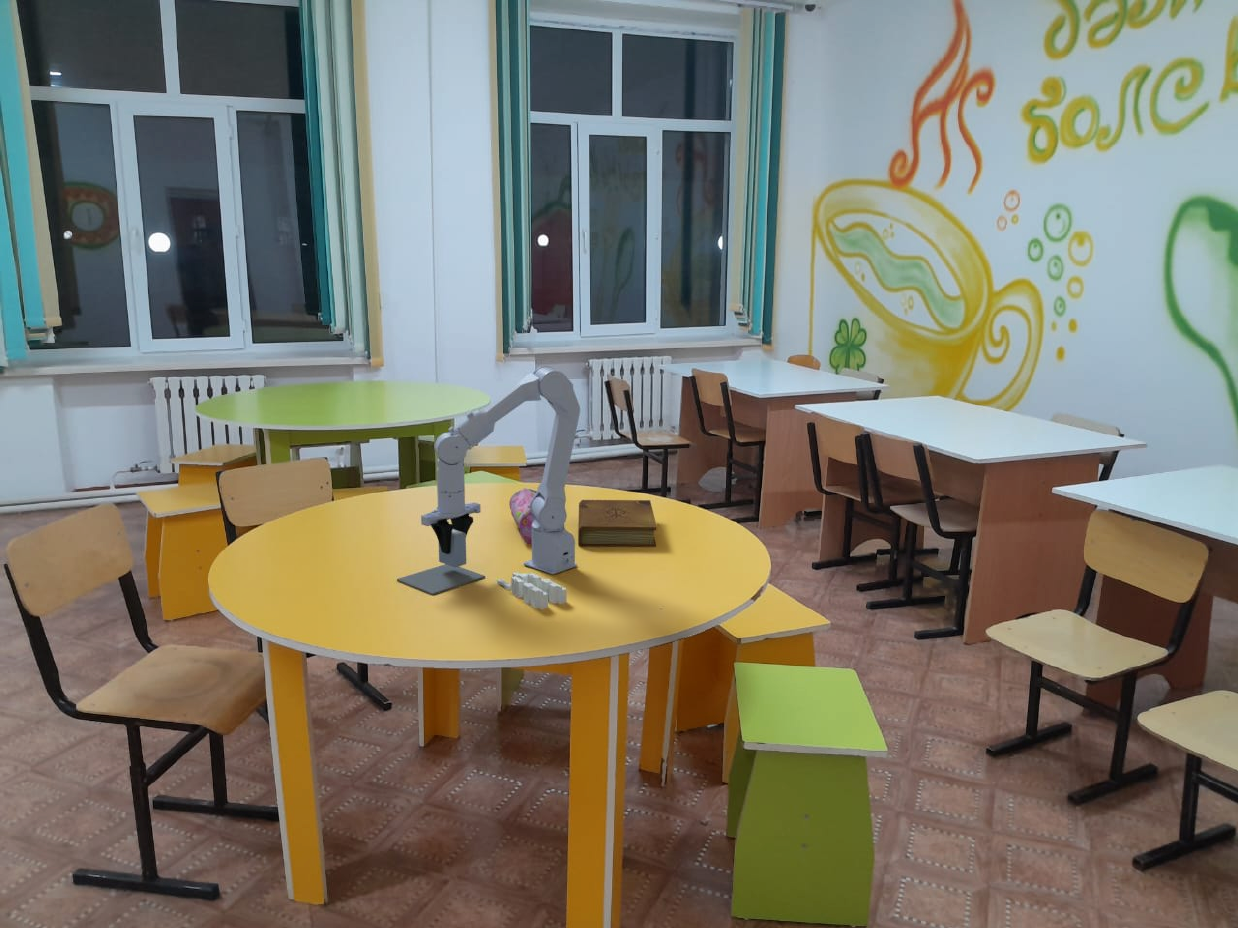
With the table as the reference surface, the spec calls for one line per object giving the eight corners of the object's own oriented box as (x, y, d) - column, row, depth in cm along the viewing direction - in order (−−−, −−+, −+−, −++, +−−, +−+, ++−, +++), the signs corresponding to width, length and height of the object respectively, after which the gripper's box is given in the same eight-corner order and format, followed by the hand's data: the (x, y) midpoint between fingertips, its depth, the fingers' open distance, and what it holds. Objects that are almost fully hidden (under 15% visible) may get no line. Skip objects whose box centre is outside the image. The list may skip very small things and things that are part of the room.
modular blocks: (566, 603, 181) (566, 585, 180) (538, 611, 177) (538, 592, 176) (513, 576, 196) (513, 559, 195) (485, 582, 191) (485, 565, 191)
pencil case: (556, 544, 217) (556, 508, 215) (518, 546, 215) (517, 509, 213) (543, 518, 238) (543, 485, 235) (509, 520, 236) (508, 487, 234)
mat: (485, 577, 194) (485, 575, 193) (432, 595, 183) (432, 593, 183) (449, 564, 201) (449, 562, 201) (396, 580, 191) (396, 578, 191)
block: (466, 564, 195) (465, 532, 193) (455, 567, 192) (454, 535, 191) (450, 558, 198) (449, 526, 196) (439, 561, 196) (438, 529, 194)
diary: (578, 520, 238) (579, 499, 236) (649, 521, 238) (650, 500, 237) (578, 548, 215) (578, 525, 214) (656, 548, 216) (656, 525, 215)
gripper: (465, 480, 199) (466, 539, 202) (411, 492, 189) (413, 554, 192) (486, 486, 195) (487, 546, 198) (432, 498, 184) (434, 561, 187)
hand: (452, 550), depth 195 cm, fingers closed on block, 3 cm apart
